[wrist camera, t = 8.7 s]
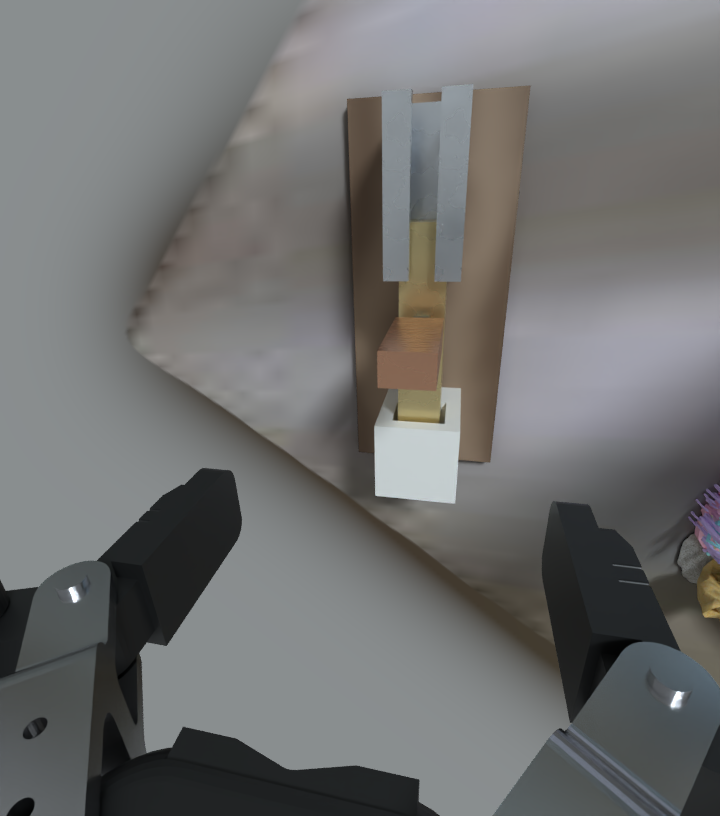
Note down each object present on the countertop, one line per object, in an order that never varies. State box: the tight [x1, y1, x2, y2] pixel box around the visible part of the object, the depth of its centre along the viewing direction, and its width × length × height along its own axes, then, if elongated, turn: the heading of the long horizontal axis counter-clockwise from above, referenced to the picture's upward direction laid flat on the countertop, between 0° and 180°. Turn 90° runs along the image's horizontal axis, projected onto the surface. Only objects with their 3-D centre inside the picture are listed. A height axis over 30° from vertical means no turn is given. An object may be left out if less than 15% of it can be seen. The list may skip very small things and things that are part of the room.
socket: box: [374, 387, 461, 504], centre depth 37 cm, size 6×6×8 cm
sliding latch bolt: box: [377, 219, 447, 424], centre depth 29 cm, size 3×17×12 cm, turn 2°
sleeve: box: [382, 84, 473, 282], centre depth 29 cm, size 5×10×7 cm, turn 2°
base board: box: [347, 86, 530, 462], centre depth 37 cm, size 12×28×1 cm, turn 2°
